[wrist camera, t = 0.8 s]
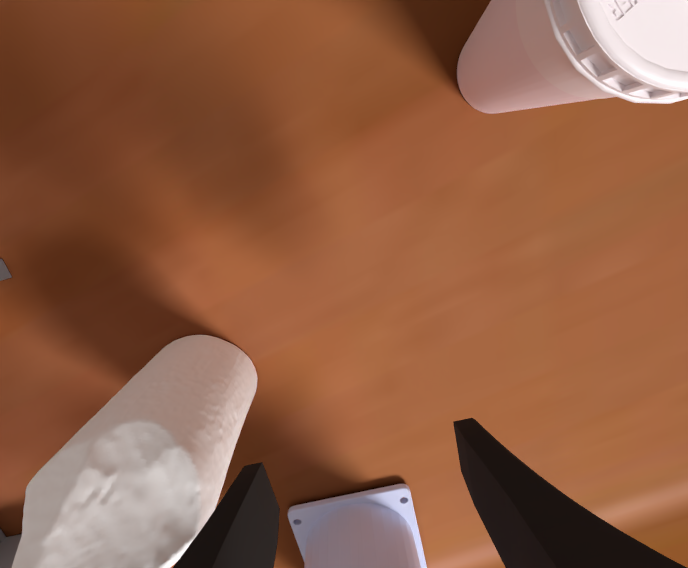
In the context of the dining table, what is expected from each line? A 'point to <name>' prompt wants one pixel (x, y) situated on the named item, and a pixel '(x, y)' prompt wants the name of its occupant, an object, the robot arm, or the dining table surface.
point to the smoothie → (575, 53)
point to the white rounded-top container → (142, 464)
